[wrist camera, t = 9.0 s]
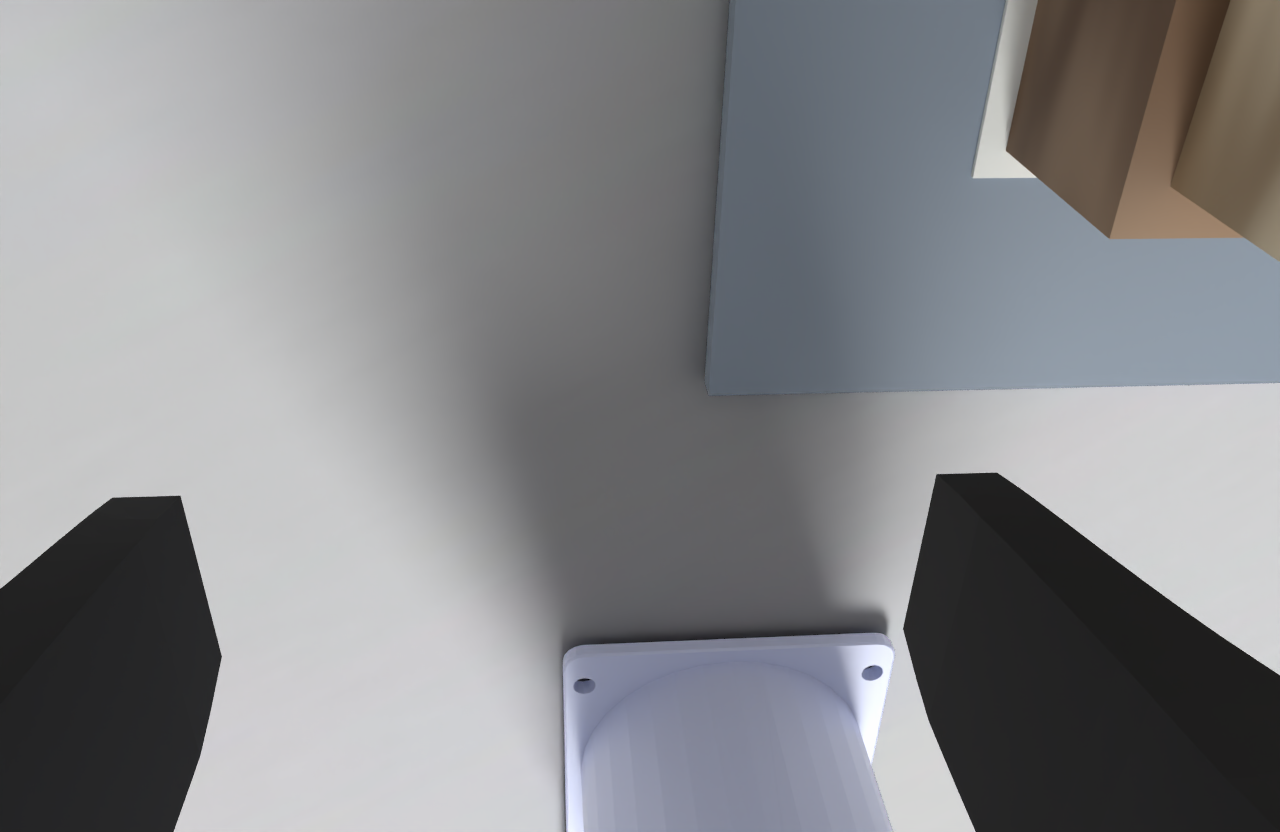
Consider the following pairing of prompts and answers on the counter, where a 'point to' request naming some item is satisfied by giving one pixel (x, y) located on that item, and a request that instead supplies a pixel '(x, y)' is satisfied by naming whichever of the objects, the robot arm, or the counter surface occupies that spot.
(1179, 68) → the walnut block
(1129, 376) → the board
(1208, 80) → the oak block
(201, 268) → the counter surface
